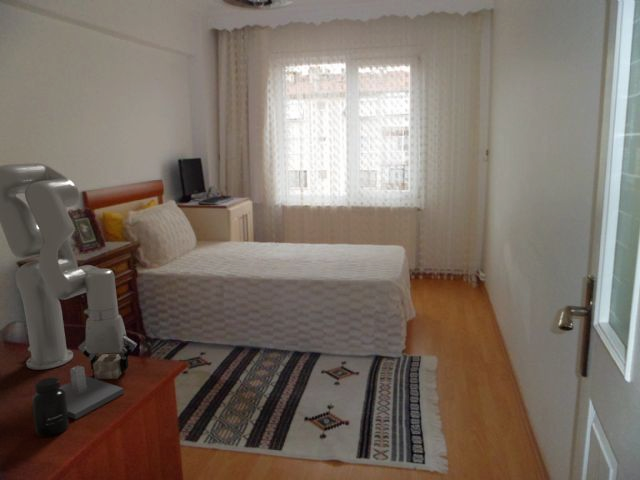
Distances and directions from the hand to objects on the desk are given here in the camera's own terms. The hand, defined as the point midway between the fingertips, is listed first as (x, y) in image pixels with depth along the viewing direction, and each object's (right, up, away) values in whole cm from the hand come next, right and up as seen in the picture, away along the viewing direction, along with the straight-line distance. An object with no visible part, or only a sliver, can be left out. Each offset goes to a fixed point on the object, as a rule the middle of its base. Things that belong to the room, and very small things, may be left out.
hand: (110, 370), depth 141 cm
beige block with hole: (0, -1, 0) cm, 1 cm away
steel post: (-2, -2, -14) cm, 14 cm away
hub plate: (-2, -4, -13) cm, 14 cm away
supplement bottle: (-2, -7, -27) cm, 28 cm away
